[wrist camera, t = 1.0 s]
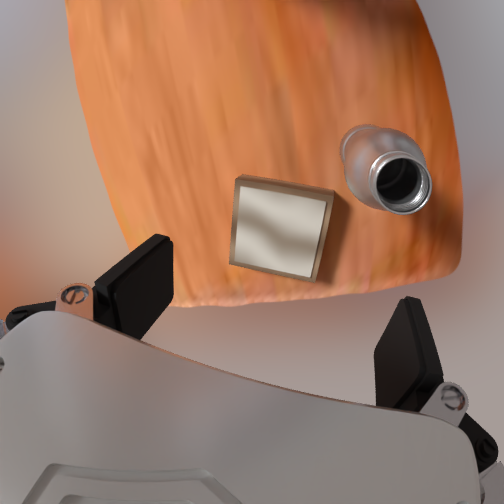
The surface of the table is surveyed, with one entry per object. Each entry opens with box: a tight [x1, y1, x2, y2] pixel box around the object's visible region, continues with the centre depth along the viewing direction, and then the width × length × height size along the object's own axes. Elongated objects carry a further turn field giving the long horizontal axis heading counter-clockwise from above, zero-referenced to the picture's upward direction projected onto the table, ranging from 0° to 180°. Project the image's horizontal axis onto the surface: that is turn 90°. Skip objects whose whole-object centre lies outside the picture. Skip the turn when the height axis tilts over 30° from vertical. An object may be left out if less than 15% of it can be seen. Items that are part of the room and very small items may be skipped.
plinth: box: [229, 174, 334, 283], centre depth 38 cm, size 12×12×3 cm
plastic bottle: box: [340, 124, 432, 215], centre depth 23 cm, size 6×7×20 cm
